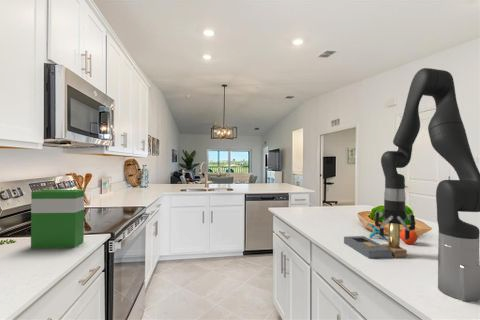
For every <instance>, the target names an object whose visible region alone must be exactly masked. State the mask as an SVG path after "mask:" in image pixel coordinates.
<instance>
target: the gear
mask: <svg viewBox="0 0 480 320" xmlns="http://www.w3.org/2000/svg"><path fill="white" fill-rule="evenodd" d="M369 226H370V227H371V228H372V231H371V233H369V239H372V238H373V237H374V236H375V235H380V228H377V227H376V226H374V225H373V224H372V223H371V222H369ZM382 239H384V240H387V238H386V236H384V237H382Z"/></svg>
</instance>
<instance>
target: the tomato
mask: <svg viewBox="0 0 480 320" xmlns="http://www.w3.org/2000/svg"><path fill="white" fill-rule="evenodd" d="M405 230H406V229H405V228H404V229H402V230H400V240H401V241H402V242H404V243H405V244H407V245H411V244H415V243H416V242H417V241H418V234H417V232H416V231H415V230H410V238H409V239H408V240H405Z"/></svg>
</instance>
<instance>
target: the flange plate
mask: <svg viewBox="0 0 480 320" xmlns="http://www.w3.org/2000/svg"><path fill="white" fill-rule="evenodd" d="M343 244H345V245H347V246H348V247H349V248H351V249H353V250H354V251H357V253H358V254H360V255H362V256H364V257H366V258H367V259H385V258H386V259H387V258H388V259H390V258H391V259H392V258H393V257H392V250H391V249H389V248H387V247H385V246H383V245H382V243H378V242H376V241H374V240H372V238H370V237H369V238H368V237H367V236H364V235H356V236H355V235H353V236H352V235H351V236H343Z"/></svg>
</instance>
